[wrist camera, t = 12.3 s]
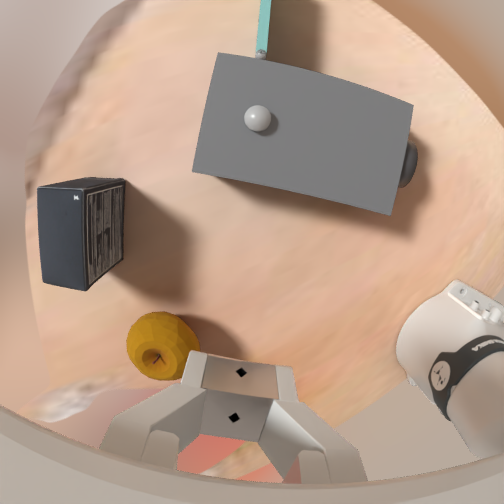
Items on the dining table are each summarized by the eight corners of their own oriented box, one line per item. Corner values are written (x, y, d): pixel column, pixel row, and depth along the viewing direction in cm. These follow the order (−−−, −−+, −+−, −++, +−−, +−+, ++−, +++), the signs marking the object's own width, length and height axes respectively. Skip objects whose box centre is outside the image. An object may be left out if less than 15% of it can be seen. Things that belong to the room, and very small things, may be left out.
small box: (82, 176, 35) (33, 184, 25) (126, 178, 36) (85, 186, 26) (82, 255, 38) (39, 283, 28) (124, 261, 39) (88, 293, 29)
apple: (216, 319, 41) (208, 359, 32) (186, 364, 43) (174, 405, 34) (156, 284, 39) (134, 316, 31) (131, 333, 42) (108, 369, 33)
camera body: (404, 119, 33) (436, 112, 26) (384, 210, 37) (413, 223, 29) (223, 71, 32) (217, 49, 25) (202, 169, 35) (190, 172, 28)
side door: (259, -22, 28) (260, -50, 21) (271, -21, 28) (275, -49, 22) (249, 74, 32) (248, 57, 26) (263, 75, 32) (265, 58, 26)
